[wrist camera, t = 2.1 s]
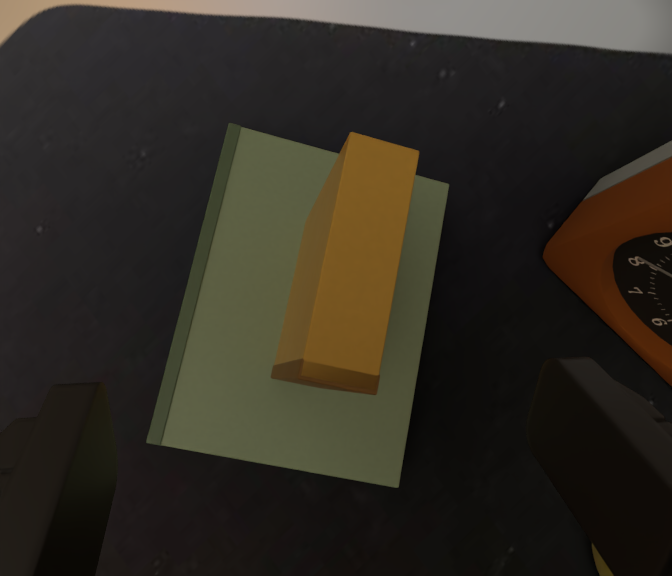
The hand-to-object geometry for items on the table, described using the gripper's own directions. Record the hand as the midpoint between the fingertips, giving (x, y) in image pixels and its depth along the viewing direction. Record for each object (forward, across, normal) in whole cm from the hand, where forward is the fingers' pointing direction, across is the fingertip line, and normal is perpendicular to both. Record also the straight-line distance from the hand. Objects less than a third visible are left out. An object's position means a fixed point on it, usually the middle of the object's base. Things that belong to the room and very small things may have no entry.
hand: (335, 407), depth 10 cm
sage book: (+24, -3, +12) cm, 27 cm away
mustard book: (+22, -3, +10) cm, 24 cm away
